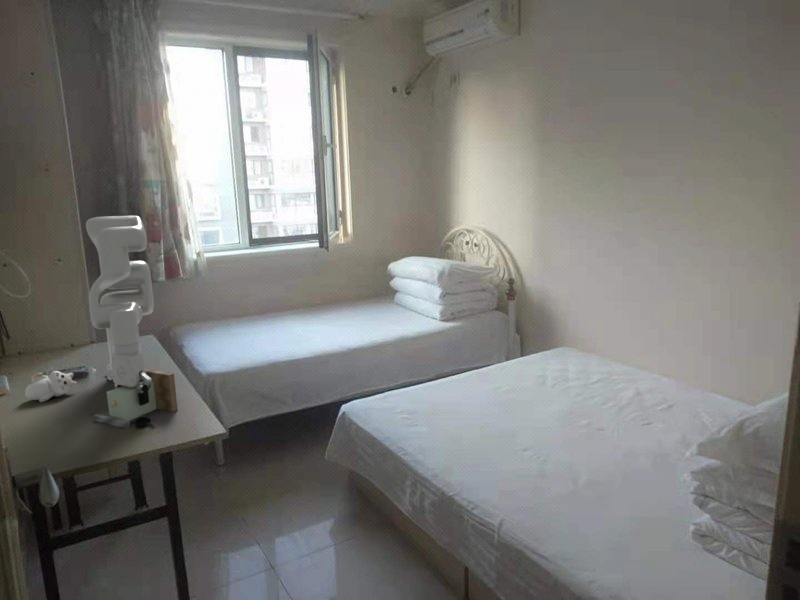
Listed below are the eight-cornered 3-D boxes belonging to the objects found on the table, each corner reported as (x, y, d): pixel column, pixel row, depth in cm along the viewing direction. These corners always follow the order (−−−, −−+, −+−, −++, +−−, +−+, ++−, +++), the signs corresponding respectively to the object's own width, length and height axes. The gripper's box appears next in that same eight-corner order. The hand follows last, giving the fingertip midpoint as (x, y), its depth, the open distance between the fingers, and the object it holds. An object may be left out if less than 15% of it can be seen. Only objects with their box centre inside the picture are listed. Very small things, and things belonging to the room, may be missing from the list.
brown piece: (87, 418, 177) (82, 381, 174) (133, 400, 191) (129, 365, 189) (133, 430, 168) (128, 390, 165) (177, 409, 182) (173, 373, 180)
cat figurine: (19, 376, 188) (70, 361, 197) (19, 383, 194) (69, 368, 203) (30, 403, 186) (80, 387, 196) (29, 409, 193) (78, 393, 202)
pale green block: (107, 421, 175) (103, 393, 173) (143, 406, 186) (140, 379, 184) (121, 424, 172) (117, 396, 170) (156, 409, 184) (153, 382, 182)
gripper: (96, 348, 176) (103, 401, 180) (136, 355, 169) (142, 410, 172) (118, 341, 183) (124, 393, 186) (157, 348, 175) (163, 401, 179)
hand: (133, 401), depth 179 cm, fingers open, 9 cm apart
